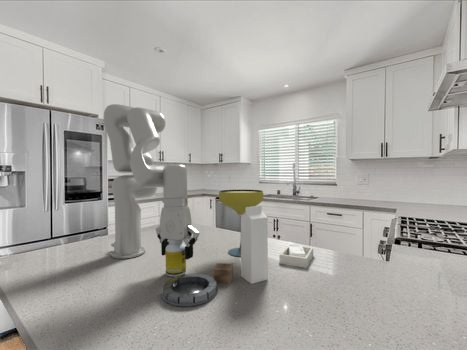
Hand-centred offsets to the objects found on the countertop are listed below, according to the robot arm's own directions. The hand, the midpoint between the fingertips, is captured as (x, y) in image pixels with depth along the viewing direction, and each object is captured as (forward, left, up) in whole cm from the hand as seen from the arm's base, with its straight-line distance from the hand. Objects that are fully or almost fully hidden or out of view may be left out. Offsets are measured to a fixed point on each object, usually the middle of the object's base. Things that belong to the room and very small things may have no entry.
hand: (177, 256), depth 78 cm
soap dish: (+31, +30, -6) cm, 44 cm away
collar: (+11, -8, -6) cm, 15 cm away
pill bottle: (-1, 0, -6) cm, 6 cm away
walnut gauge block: (+15, +3, -6) cm, 17 cm away
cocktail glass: (+9, +28, -6) cm, 30 cm away
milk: (+23, +8, -6) cm, 25 cm away
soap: (+31, +30, -5) cm, 44 cm away
